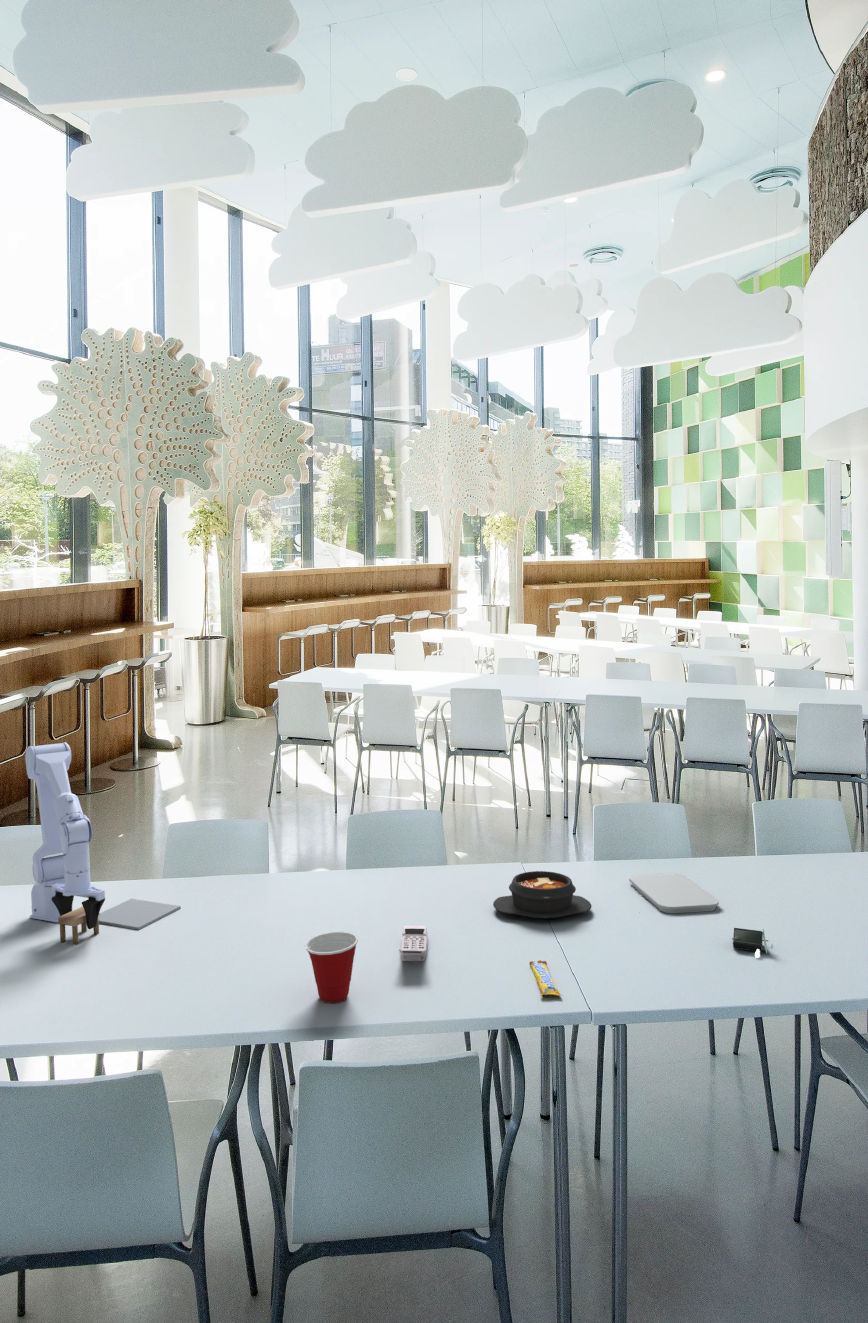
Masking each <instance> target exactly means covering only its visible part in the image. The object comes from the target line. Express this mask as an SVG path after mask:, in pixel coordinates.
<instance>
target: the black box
mask: <svg viewBox="0 0 868 1323" xmlns="http://www.w3.org/2000/svg"><path fill="white" fill-rule="evenodd" d="M731 939H732V944H733V945H732V946H733V949H735V950H736V949H738V950H745V951H753V952H755V953H754V957H755V958H756V959H758V958H761V953H762V952H763V946H764V949H765V954H766V955H768V946H767V942H769V940H767V939H766V935H765V929H764V928H762V930H754V929H746V928H739V927H738V928H737V927H733V938H731ZM763 944H764V945H763ZM772 948H773V945H771V947H770V949H772Z"/></svg>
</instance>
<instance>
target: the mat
mask: <svg viewBox="0 0 868 1323" xmlns="http://www.w3.org/2000/svg"><path fill="white" fill-rule="evenodd" d="M180 909H181V905H176V904H169V903H163V902H155V901H150V900H149V901H148V900H144V899H136V898H129V899H128V900H126V901H123V902H121V903H119V904H117V905H115V906H111V907H110V908H109V909H106V910H103V911H102V912H99V916H98V920H99V924H102V925H109V926H114V927H119V928H125V929H132V930H138V931H140V930H141V929H143V928H145V927H148V926H149V925H151V924H153V923H155V922H157V921H159V920H161V919H163V918H164V917H167V916H169V915H170V914H173V913H175V912H176V911H178V910H180Z"/></svg>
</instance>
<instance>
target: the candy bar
mask: <svg viewBox="0 0 868 1323" xmlns="http://www.w3.org/2000/svg"><path fill="white" fill-rule="evenodd" d="M528 964H529V967H530V969H531V971H532V973H534V974H533V977H534V978H536V979H535V981H537V982H536V984H537V986H539V987H538V988H539V992H540V991H541V992H540V996H542V997H544V996H543V995H545V996H558V997H560V996H562V994H561V993H560V992H559V990H558V988H557V986H556V984H555V982H554V979H553V977H552V974H551V973H550V971H549V968H548V962H547V960H537V962H535V961H533V960H532V961H529V963H528Z"/></svg>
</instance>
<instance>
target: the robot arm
mask: <svg viewBox="0 0 868 1323" xmlns="http://www.w3.org/2000/svg"><path fill="white" fill-rule="evenodd" d="M24 760H25V766H26V767H25V769H26V775H27V778H28V779H30V780H32V781H34V782H35V785H36V791H37V792H36V793H37V800H38V801H37V802H38V809H39V810H38V811H39V818H40V819H39V820H40V828H41V836H42V845H41V846H40V847H39V848H38V849H36V851H34V853H33V854H32V868H31V870H32V876H33V880H34V882H35V883H34V884H33V886H32V889H31V893H30V895H31V896H30V899H31V914H30V915H29V919H34V920H35V919H36V920H40V921H46V922H52V923H58V917H60V916H62V915H64V914H67V913H69V912H71V911H73V910H75V909H73V904H74V903H73V902H74V897H80V898H87V899H86V900H83V901H82V902H81V905H82V906H83V908H84V910H85V914H86V923H87V930H92V929H94V927H96V923H97V919H98V915H99V913H101V912H100V911H101V909H102V907H103V904H104V902H105V901H106V892H105V890H103V889H101V888H98V887H95V886H93V885H92V883H91V864H90V842H91V841H92V839H93V828H92V823H91V821H90V818H88V817H87V815H86V814H84V812H83V810H82V805H81V802H80V800H79V797H78V795H76V794H74V793H72V790H71V785H70V781H69V774H68V770H70V764H71V763H72V749H71V746H70V745H69V744H68V743H67V742H66V741H65V742H62V743H61V742H60V743H51V744H43V745H34V746H32V745H28V747H27V748H26V751H25V756H24ZM58 854H59V855H58ZM52 855H53V856H52ZM47 856H48V857H47Z"/></svg>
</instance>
